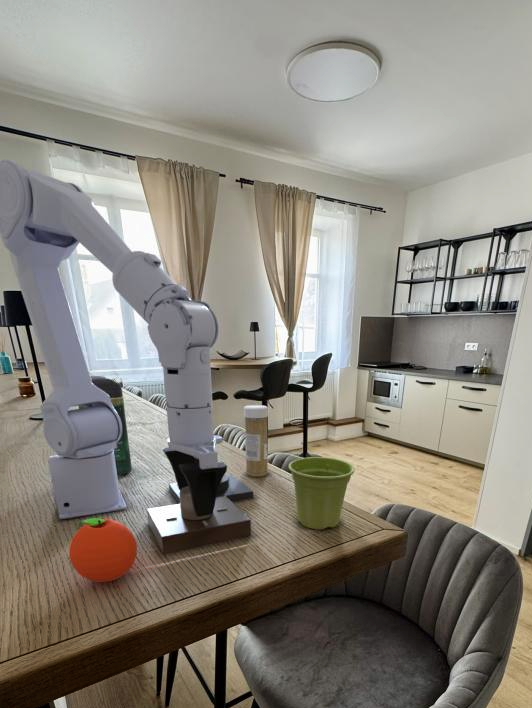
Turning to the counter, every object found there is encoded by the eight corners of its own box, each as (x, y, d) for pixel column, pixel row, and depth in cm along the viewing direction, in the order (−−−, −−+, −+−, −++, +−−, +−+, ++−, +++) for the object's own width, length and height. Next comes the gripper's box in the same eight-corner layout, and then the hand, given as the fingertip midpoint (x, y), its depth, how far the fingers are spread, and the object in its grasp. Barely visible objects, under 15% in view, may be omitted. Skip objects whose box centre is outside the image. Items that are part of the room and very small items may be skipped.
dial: (217, 516, 57) (216, 490, 55) (186, 522, 55) (183, 495, 53) (207, 505, 60) (206, 481, 59) (177, 510, 58) (175, 485, 57)
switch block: (183, 510, 65) (182, 492, 64) (169, 490, 73) (167, 474, 72) (253, 498, 70) (253, 481, 69) (232, 481, 78) (231, 466, 77)
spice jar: (272, 474, 83) (272, 406, 78) (255, 479, 80) (254, 409, 75) (257, 469, 86) (257, 403, 81) (240, 473, 83) (238, 406, 78)
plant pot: (355, 514, 64) (359, 460, 61) (343, 540, 56) (348, 479, 53) (298, 506, 67) (299, 454, 64) (278, 529, 59) (279, 471, 56)
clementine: (56, 579, 46) (43, 522, 44) (108, 554, 52) (100, 501, 49) (101, 602, 42) (90, 540, 40) (153, 572, 48) (146, 516, 45)
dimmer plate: (163, 554, 52) (161, 535, 51) (148, 524, 60) (146, 507, 59) (251, 536, 57) (250, 518, 56) (226, 510, 65) (225, 494, 64)
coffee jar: (137, 475, 81) (125, 377, 74) (94, 481, 77) (77, 379, 70) (125, 462, 89) (113, 373, 82) (86, 468, 85) (70, 374, 78)
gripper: (240, 412, 48) (242, 518, 53) (203, 396, 60) (207, 484, 65) (180, 416, 45) (188, 529, 50) (153, 398, 57) (162, 491, 62)
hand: (196, 504), depth 57 cm, fingers open, 7 cm apart
